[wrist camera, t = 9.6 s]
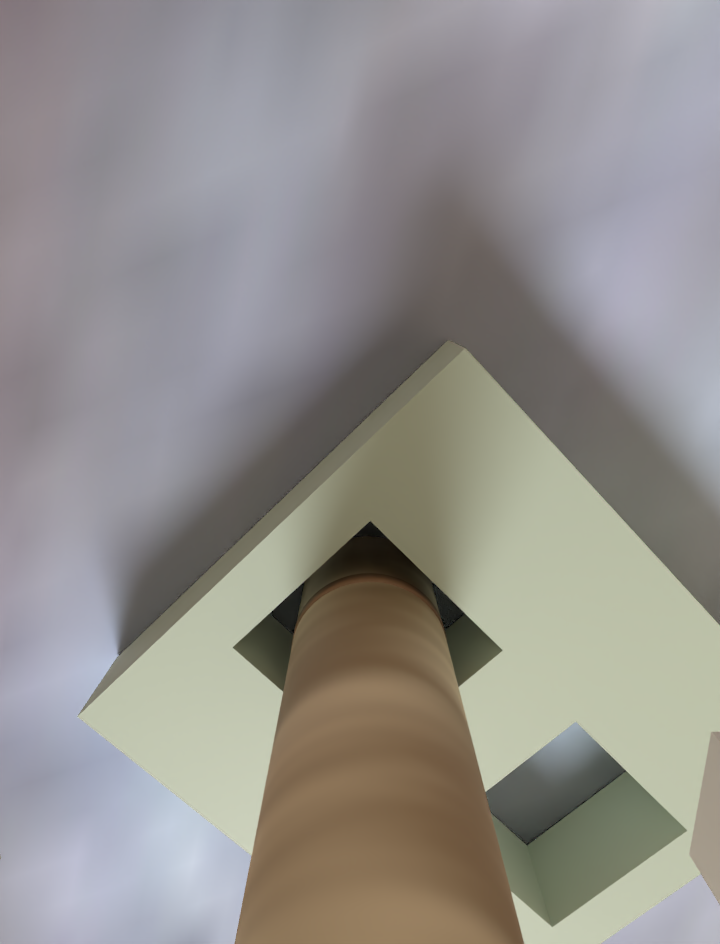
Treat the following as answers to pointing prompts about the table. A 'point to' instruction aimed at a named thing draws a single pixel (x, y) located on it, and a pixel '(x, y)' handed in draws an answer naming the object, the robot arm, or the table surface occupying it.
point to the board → (457, 644)
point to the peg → (374, 776)
